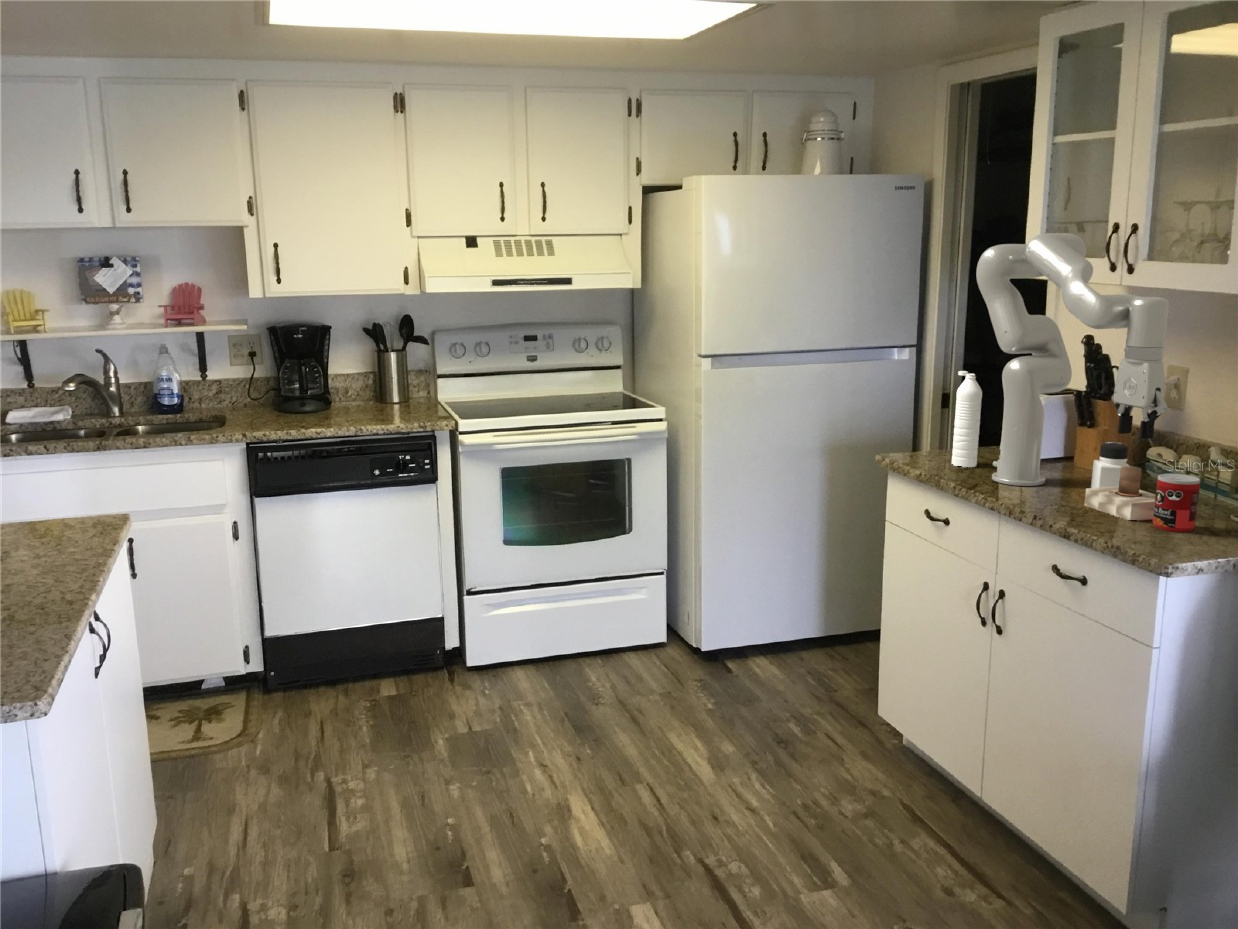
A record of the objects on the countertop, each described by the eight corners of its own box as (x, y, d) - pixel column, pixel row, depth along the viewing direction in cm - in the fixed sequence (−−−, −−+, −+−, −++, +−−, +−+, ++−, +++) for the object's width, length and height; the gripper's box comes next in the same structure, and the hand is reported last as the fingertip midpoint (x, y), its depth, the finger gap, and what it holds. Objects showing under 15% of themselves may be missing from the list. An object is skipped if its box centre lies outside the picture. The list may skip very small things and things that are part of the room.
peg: (1110, 509, 233) (1115, 466, 231) (1127, 508, 235) (1131, 465, 233) (1125, 514, 229) (1130, 470, 227) (1142, 513, 230) (1147, 469, 228)
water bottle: (981, 467, 276) (988, 374, 271) (958, 468, 275) (965, 375, 270) (965, 460, 284) (972, 370, 279) (943, 461, 283) (949, 371, 278)
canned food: (1144, 523, 222) (1150, 473, 220) (1180, 522, 223) (1186, 473, 221) (1165, 533, 215) (1171, 481, 213) (1202, 532, 216) (1208, 481, 213)
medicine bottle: (1129, 496, 245) (1135, 447, 243) (1097, 494, 247) (1102, 445, 244) (1121, 489, 252) (1126, 441, 250) (1090, 487, 254) (1095, 440, 251)
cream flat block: (1084, 505, 237) (1086, 488, 236) (1123, 502, 240) (1125, 485, 239) (1129, 521, 224) (1131, 503, 223) (1170, 517, 227) (1172, 499, 226)
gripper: (1101, 350, 231) (1093, 430, 235) (1160, 359, 215) (1150, 444, 219) (1128, 349, 233) (1120, 428, 237) (1189, 358, 217) (1179, 442, 221)
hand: (1135, 435), depth 228 cm, fingers open, 5 cm apart
